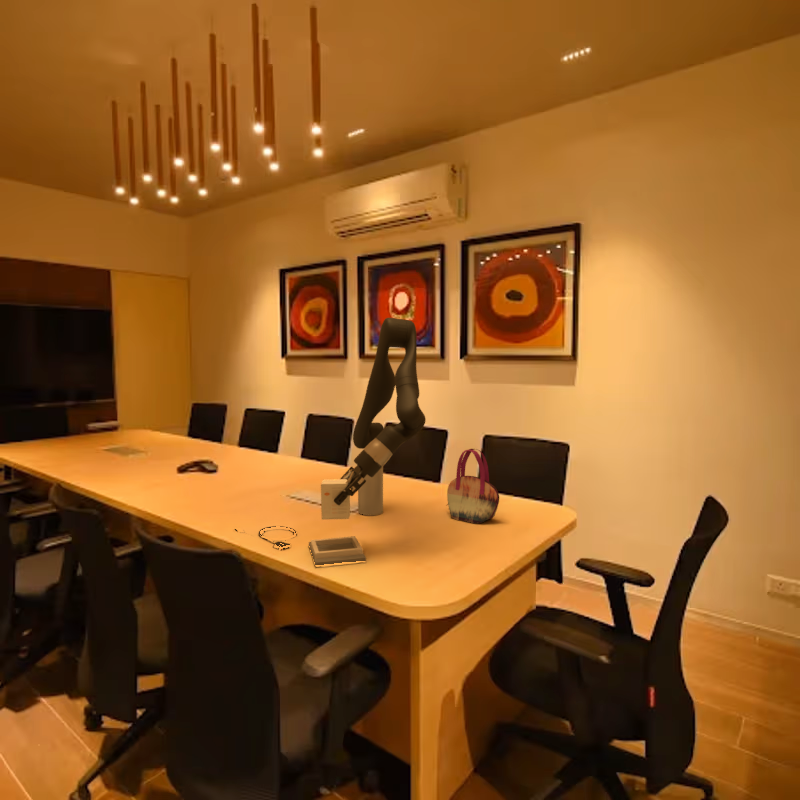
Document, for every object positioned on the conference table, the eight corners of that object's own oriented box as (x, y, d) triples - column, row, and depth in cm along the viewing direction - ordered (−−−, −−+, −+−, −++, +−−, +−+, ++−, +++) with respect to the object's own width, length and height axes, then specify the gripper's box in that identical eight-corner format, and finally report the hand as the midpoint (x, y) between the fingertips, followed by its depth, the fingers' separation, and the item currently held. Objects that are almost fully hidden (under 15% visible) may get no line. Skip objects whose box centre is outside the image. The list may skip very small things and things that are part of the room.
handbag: (438, 516, 193) (439, 447, 192) (453, 510, 201) (454, 444, 199) (491, 527, 180) (492, 454, 178) (505, 520, 188) (506, 450, 186)
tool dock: (308, 546, 162) (308, 537, 162) (354, 542, 166) (354, 533, 165) (315, 568, 146) (315, 557, 145) (365, 562, 149) (365, 552, 149)
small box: (350, 513, 158) (350, 478, 157) (349, 519, 152) (349, 483, 151) (323, 514, 158) (322, 479, 157) (321, 519, 152) (320, 483, 151)
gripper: (359, 445, 162) (321, 486, 160) (369, 453, 149) (328, 497, 146) (376, 461, 164) (339, 502, 162) (388, 470, 150) (347, 515, 148)
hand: (334, 499), depth 154 cm, fingers closed on small box, 6 cm apart
